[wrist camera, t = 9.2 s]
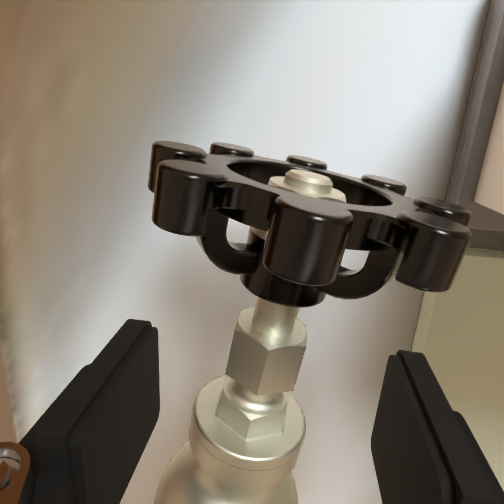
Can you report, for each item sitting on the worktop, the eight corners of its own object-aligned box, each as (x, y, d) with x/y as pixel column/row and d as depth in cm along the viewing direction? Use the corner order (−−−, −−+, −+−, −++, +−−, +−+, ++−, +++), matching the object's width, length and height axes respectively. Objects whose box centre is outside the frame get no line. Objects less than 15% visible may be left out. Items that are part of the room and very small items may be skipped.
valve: (314, 483, 15) (422, 182, 11) (324, 738, 9) (583, 274, 5) (151, 442, 15) (194, 132, 11) (52, 663, 9) (63, 158, 5)
